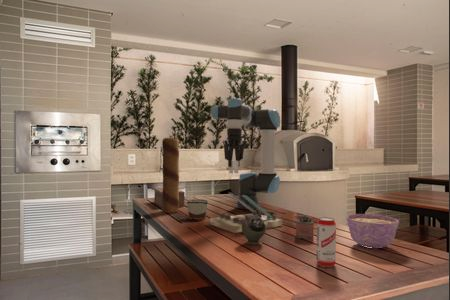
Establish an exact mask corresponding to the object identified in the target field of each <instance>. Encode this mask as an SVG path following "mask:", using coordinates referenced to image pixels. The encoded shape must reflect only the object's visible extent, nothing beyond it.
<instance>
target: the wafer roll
mask: <svg viewBox="0 0 450 300" xmlns="http://www.w3.org/2000/svg"><path fill="white" fill-rule="evenodd" d="M179 146H180V145H179V139H178V138H173V137H171V138H170V137H164V138H163V139H162V188H163V208H162V211H163V213H165V214H174V213H177V212H179V211H180V207H179V190H180V189H179V188H180V185H179V184H180V169H179V168H180V167H179V165H180V164H179V162H180V161H179V160H180V159H179V158H180V149H179V148H180V147H179Z"/></svg>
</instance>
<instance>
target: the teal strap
mask: <svg viewBox="0 0 450 300" xmlns="http://www.w3.org/2000/svg"><path fill="white" fill-rule="evenodd" d="M242 197H244V198H245V199H246V200H247V201H249V202H250V203H251V204H252V205H254V206H255V207H256V208H257V209H256V210H258V211H261V214H264V215H265V216H267V217H269V218H271V219H273V215H271V213H270V214H269V212H268V211H266V210H265V209H264V208H263V207H261V206H260V205H257V204H256V203H255V202H254V201H252V200H251V199H250V198H249V197H248V196H246V195H242Z"/></svg>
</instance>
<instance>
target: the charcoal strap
mask: <svg viewBox="0 0 450 300" xmlns="http://www.w3.org/2000/svg"><path fill="white" fill-rule="evenodd" d="M228 195H230V196H231V197H233V198H234V199H235V201H239V202H240V203H241V204H243V205H244V206H245V207H246V208H248V209H247V210H249V211H250V212H251V213H254V214H256V215H258V211H257V210H256V209H252V208H251V207H250V206H248V205H247V204H246V203H245V202H243V201H242V200H241V199H240V198H238V197H239V196H237V195H236V194H234V193H233V192H231V191H229V192H228ZM255 210H256V211H255Z"/></svg>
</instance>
